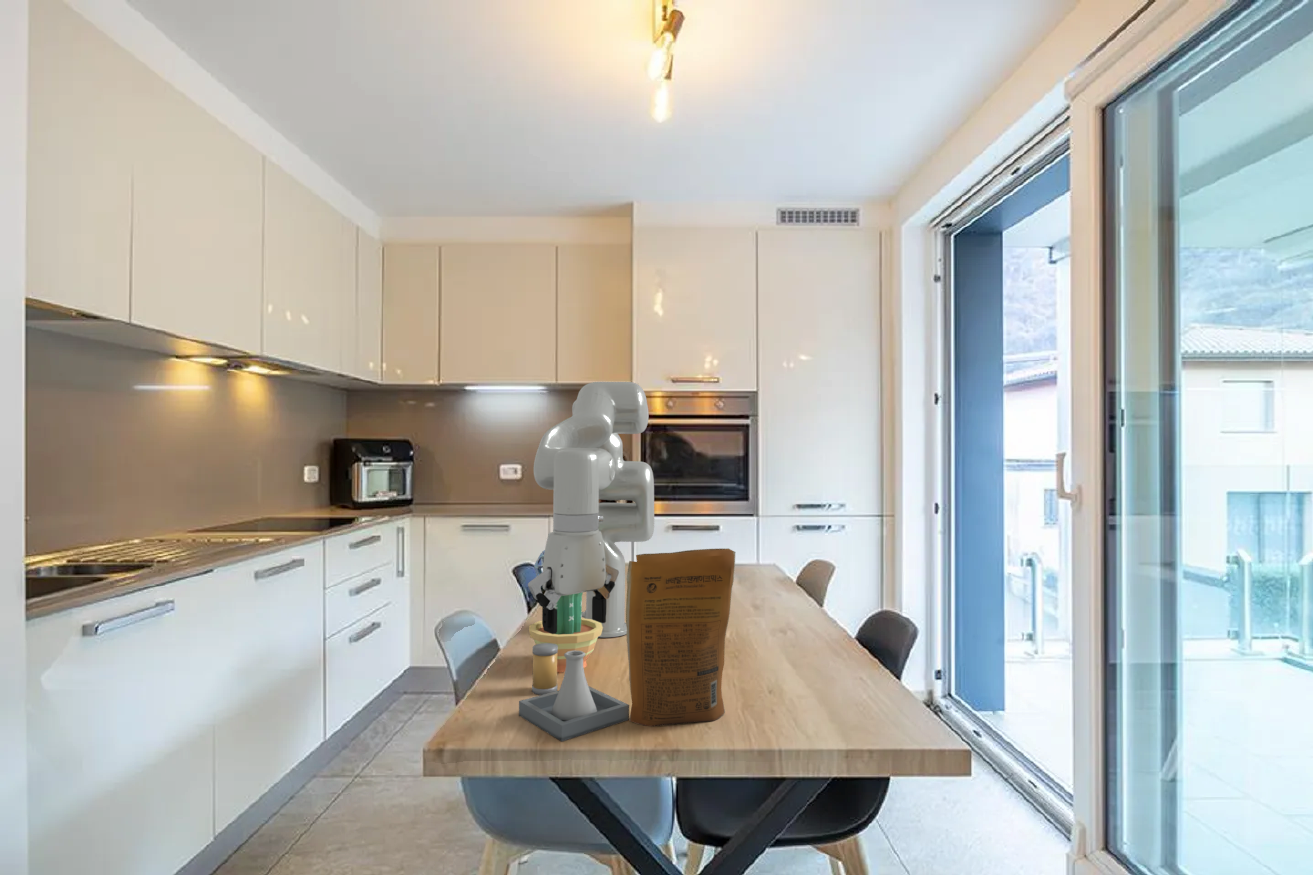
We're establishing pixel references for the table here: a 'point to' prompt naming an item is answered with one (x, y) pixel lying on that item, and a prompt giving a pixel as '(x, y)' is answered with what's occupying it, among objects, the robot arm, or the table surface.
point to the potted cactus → (567, 627)
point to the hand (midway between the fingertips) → (575, 626)
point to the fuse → (544, 668)
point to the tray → (606, 715)
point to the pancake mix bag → (678, 634)
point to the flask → (573, 690)
